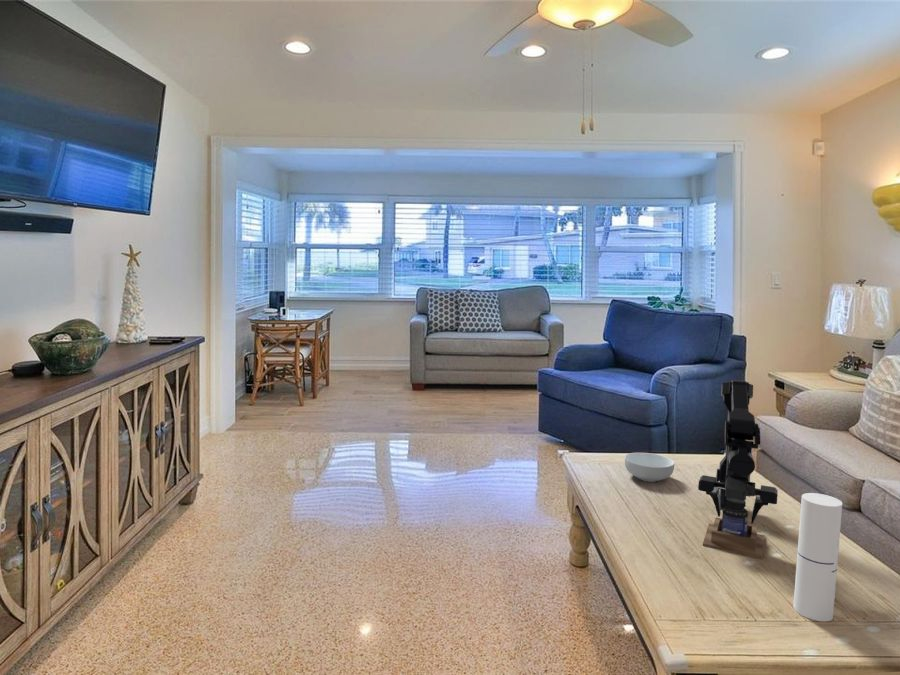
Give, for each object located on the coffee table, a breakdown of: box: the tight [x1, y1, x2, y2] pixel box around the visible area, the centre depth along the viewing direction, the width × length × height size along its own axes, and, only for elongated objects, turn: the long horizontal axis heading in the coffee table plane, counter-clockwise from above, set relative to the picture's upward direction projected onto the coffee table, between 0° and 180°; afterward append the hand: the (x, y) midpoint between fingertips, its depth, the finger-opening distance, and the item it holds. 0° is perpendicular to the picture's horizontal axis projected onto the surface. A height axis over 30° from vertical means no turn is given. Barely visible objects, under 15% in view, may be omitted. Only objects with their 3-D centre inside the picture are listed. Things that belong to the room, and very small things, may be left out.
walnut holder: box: [702, 517, 765, 560], centre depth 151 cm, size 14×14×4 cm
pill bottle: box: [721, 498, 749, 537], centre depth 150 cm, size 6×6×11 cm
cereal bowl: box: [624, 452, 675, 483], centre depth 198 cm, size 17×17×7 cm
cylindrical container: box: [792, 492, 843, 622], centre depth 118 cm, size 7×7×25 cm
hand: (735, 519), depth 150 cm, fingers open, 8 cm apart
